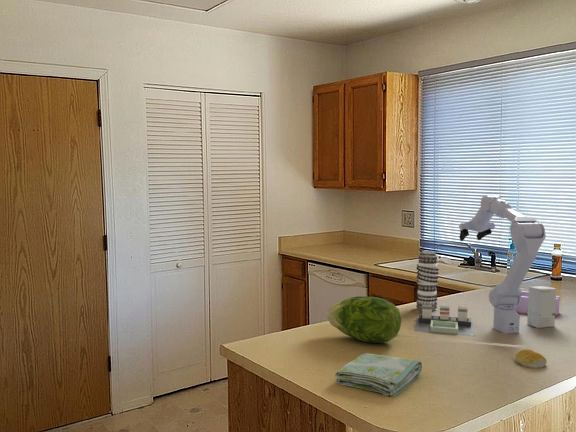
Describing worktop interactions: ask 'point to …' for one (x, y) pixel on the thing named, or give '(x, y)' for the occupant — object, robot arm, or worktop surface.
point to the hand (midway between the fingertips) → (469, 238)
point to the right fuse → (462, 313)
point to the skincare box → (541, 306)
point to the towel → (379, 373)
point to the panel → (445, 326)
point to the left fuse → (427, 311)
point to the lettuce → (366, 318)
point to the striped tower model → (427, 279)
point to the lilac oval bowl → (523, 303)
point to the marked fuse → (444, 312)
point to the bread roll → (530, 359)
